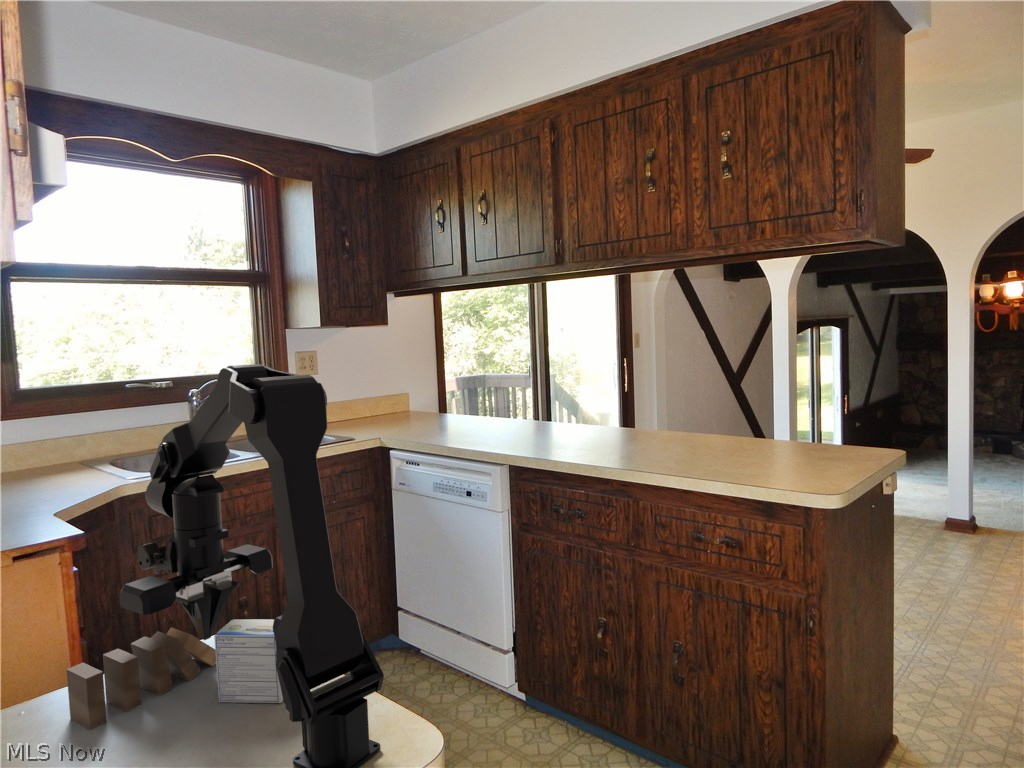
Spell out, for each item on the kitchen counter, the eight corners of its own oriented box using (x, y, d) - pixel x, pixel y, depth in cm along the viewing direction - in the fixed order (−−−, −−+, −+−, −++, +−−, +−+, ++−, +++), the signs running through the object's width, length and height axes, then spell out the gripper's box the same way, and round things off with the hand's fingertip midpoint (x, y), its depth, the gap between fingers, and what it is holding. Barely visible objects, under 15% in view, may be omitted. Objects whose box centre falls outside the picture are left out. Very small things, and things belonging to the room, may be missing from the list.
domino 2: (121, 695, 82) (118, 648, 82) (141, 705, 80) (137, 656, 80) (106, 702, 81) (102, 654, 80) (126, 712, 79) (122, 663, 78)
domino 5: (201, 646, 92) (171, 627, 89) (221, 653, 90) (190, 634, 86) (193, 658, 91) (162, 640, 88) (213, 666, 89) (181, 647, 85)
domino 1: (87, 711, 79) (83, 662, 79) (106, 721, 77) (102, 671, 76) (70, 719, 77) (66, 669, 77) (90, 730, 75) (86, 678, 75)
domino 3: (153, 679, 86) (144, 636, 85) (173, 687, 83) (164, 643, 82) (139, 687, 84) (130, 643, 83) (159, 696, 82) (150, 651, 81)
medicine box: (296, 685, 84) (293, 618, 83) (281, 705, 79) (277, 634, 79) (236, 684, 84) (231, 617, 84) (217, 704, 80) (213, 634, 79)
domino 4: (180, 661, 89) (157, 631, 86) (200, 669, 87) (177, 638, 84) (169, 673, 88) (145, 642, 85) (189, 681, 85) (165, 650, 83)
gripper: (223, 501, 100) (229, 602, 102) (91, 535, 85) (101, 654, 86) (272, 510, 95) (278, 617, 96) (140, 548, 79) (150, 675, 80)
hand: (205, 638), depth 90 cm, fingers closed
